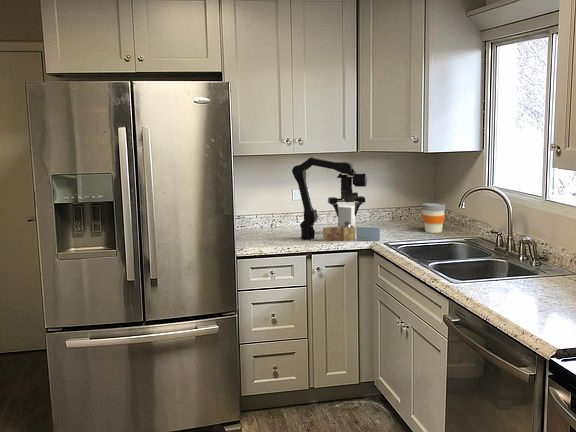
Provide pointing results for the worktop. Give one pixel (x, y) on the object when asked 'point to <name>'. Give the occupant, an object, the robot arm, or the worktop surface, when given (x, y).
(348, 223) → the hinge pin
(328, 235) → the knuckle leaf
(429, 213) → the reusable coffee cup
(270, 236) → the worktop surface
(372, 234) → the swing leaf
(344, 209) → the skincare box
